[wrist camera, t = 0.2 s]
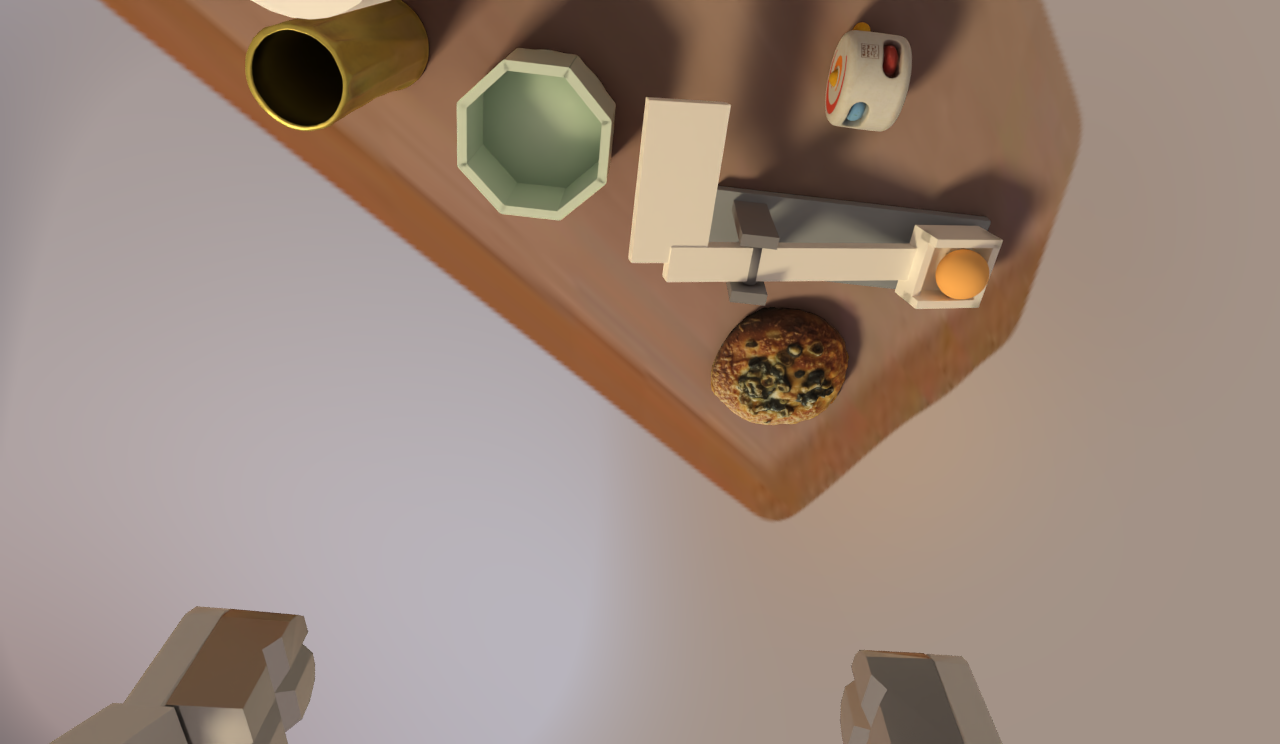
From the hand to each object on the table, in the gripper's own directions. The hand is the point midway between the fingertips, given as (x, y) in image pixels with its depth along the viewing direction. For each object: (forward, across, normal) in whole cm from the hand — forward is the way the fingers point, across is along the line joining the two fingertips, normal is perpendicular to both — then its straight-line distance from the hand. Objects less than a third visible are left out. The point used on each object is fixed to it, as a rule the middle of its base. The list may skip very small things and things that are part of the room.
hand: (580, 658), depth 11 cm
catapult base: (+47, -16, +10) cm, 51 cm away
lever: (+43, -12, +6) cm, 45 cm away
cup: (+47, +7, +3) cm, 48 cm away
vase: (+47, +17, -2) cm, 51 cm away
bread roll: (+48, -13, +21) cm, 54 cm away
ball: (+43, -23, +10) cm, 50 cm away
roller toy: (+47, -14, -2) cm, 50 cm away
